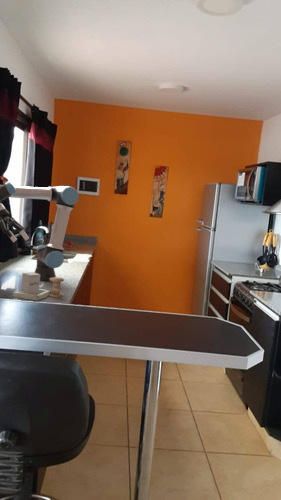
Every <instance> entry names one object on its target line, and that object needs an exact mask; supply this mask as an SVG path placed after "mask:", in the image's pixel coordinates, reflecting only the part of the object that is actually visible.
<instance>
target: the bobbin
mask: <svg viewBox="0 0 281 500" xmlns="http://www.w3.org/2000/svg"><path fill="white" fill-rule="evenodd" d="M64 280H65V279H64V277H58V276H56V277H52V278H50V281H49V282H52V288H51V293H50V294H49V296H48V297H50V298H62V297H63V296H64V293H62V292H61V283H62V282H64Z"/></svg>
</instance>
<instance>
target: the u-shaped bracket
mask: <svg viewBox="0 0 281 500" xmlns="http://www.w3.org/2000/svg"><path fill="white" fill-rule="evenodd" d="M12 293H13V294H12V297H13V298H20V299H24V300H25V299H26V300H31V301H40V300H42V299H45V298H47V297H50V296H49V294H50V293H52V290H49V289H43V288H39V294H37V295H34V294H27V293H21V291H14V292H12Z"/></svg>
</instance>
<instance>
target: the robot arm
mask: <svg viewBox="0 0 281 500" xmlns="http://www.w3.org/2000/svg"><path fill="white" fill-rule="evenodd" d="M79 195H80V194H79V192H78V191H77V189H76V188H74V186H73V187H72V186H70V185H69V186H68V185H65V186H64V185H59V186H48V187H38V186H35V187H34V186H21V185H14V184H13V183H12V182H11V181H9V182H6V183H5V184H0V229H1V231H2V233H3V234H4V235H7V236H8V238H9V239H10V240H11V241H12V243H15V242H16V241H17V240H18V238H17V237H16V236H15V235H14V233H13V232H12V231H11V230H10V228H9V226H10V227H13V228H14V229H15V230H16V231H18V232H19V234H20V235H21V236H22V238H23V240H24V241H25V242H27V241H28V240H29V239H30V237H29V235H28V234H27V233H26V231H25V227H24V226H22V224H20V223H19V222H18V221H17V220H16V219H15V218H14V217H10V212H9V211H8V210H7V209H6V207H5V206H4V204H3V203H2V202H3V201H4V200H6V199H8V198H12V199H13V198H16V199H17V198H18V199H32V200H46V201H48V202H53V203H55V206H56V207H57V209H56V213H55V218H54V222H53V225H52V226H53V227H52V229H51V234H50V238H49V243H48V244H46V245H39V246H37V250H36V254H37V255H36V267H35V270H34V273H37V274H40V281H43V282H44V281H46V282H51V281H50V278H52V277H57V275H56V272H55V269H58V268H59V267H61V266H62V265H63V264H64V261H65V257H64V250H65V249H64V247H63V244H64V240H65V237H66V236H65V235H66V232H67V227H68V223H69V218H70V215H71V214H70V213H71V211H72V210H74V208H75V204H77V202H78V201H79Z"/></svg>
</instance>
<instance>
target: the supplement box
mask: <svg viewBox="0 0 281 500" xmlns="http://www.w3.org/2000/svg"><path fill="white" fill-rule="evenodd" d="M34 272H35V271H34ZM34 272H22V275H21V277H22V278H21V290H20V292H21V293H27V294H34V295H37V294H39V289H40V283H41V280H40V274H37V273H34Z"/></svg>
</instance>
